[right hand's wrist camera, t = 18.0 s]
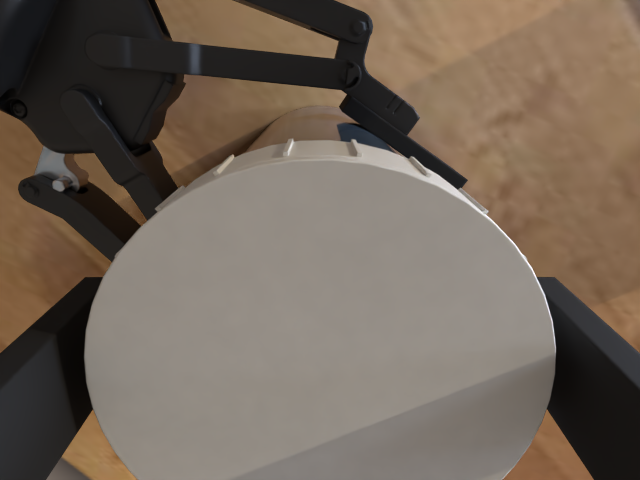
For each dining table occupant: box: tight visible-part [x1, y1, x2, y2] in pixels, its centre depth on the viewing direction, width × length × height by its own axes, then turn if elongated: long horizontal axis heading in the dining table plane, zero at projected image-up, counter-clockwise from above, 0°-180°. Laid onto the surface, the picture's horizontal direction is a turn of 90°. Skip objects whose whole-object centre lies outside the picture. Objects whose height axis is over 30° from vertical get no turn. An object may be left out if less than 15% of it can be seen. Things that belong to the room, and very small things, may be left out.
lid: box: [84, 139, 556, 480], centre depth 11 cm, size 11×11×2 cm
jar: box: [243, 106, 397, 154], centre depth 20 cm, size 10×10×19 cm
